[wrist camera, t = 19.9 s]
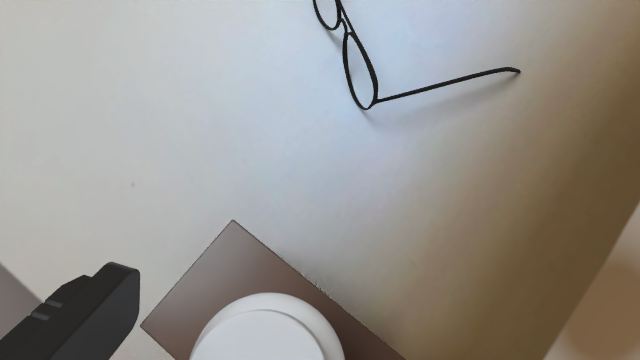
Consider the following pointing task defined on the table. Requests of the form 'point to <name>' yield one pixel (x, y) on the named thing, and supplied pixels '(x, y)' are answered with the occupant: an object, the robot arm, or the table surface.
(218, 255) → the walnut shelf
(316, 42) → the table surface
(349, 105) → the table surface
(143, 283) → the table surface
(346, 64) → the glasses
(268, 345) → the pill bottle
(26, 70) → the table surface
